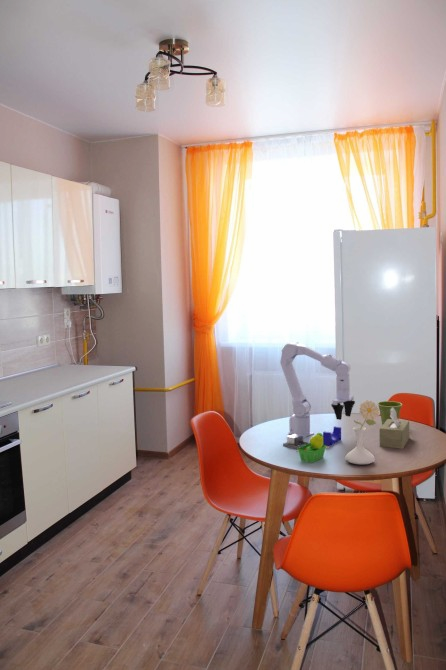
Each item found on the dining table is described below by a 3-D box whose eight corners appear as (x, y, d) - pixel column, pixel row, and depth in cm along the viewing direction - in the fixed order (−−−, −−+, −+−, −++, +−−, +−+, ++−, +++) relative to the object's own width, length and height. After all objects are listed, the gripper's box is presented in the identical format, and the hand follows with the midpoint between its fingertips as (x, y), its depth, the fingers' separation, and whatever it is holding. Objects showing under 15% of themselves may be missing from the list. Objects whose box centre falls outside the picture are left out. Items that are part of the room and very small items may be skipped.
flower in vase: (345, 466, 213) (345, 403, 210) (344, 457, 224) (344, 397, 222) (380, 467, 210) (380, 403, 208) (377, 458, 221) (377, 397, 219)
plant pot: (372, 425, 273) (372, 402, 272) (390, 421, 278) (390, 400, 277) (388, 430, 262) (388, 407, 261) (407, 427, 267) (407, 404, 266)
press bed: (278, 447, 240) (278, 445, 240) (299, 439, 251) (299, 437, 251) (309, 455, 228) (309, 452, 228) (330, 446, 239) (330, 444, 239)
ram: (287, 445, 243) (287, 436, 242) (295, 442, 247) (295, 433, 246) (295, 447, 239) (295, 438, 239) (303, 444, 244) (303, 435, 243)
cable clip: (332, 438, 251) (332, 425, 251) (341, 440, 249) (341, 427, 248) (320, 444, 242) (319, 431, 241) (329, 446, 239) (329, 433, 239)
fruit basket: (311, 453, 230) (310, 427, 229) (330, 457, 224) (329, 430, 223) (296, 461, 221) (296, 433, 220) (316, 465, 216) (315, 437, 215)
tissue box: (387, 435, 254) (387, 402, 253) (409, 437, 250) (409, 403, 248) (379, 446, 238) (379, 411, 236) (402, 449, 233) (402, 412, 232)
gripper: (341, 392, 242) (342, 422, 244) (359, 387, 253) (359, 416, 254) (328, 390, 247) (328, 419, 248) (345, 385, 258) (346, 413, 259)
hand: (343, 417), depth 251 cm, fingers open, 7 cm apart
